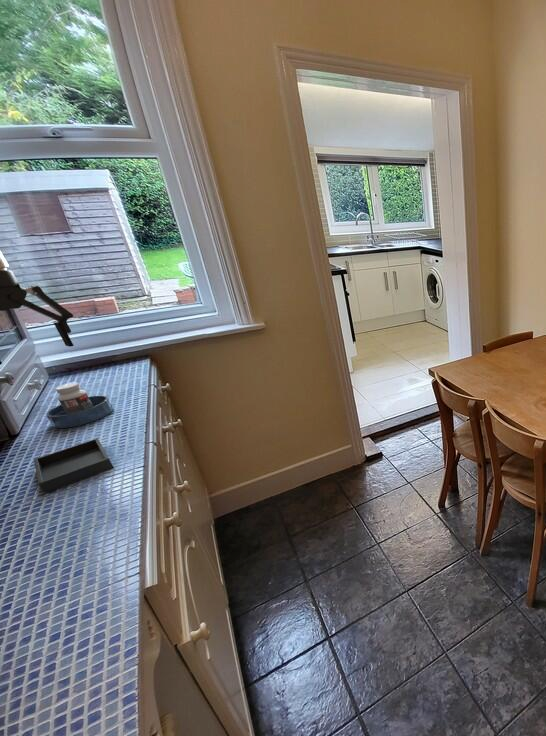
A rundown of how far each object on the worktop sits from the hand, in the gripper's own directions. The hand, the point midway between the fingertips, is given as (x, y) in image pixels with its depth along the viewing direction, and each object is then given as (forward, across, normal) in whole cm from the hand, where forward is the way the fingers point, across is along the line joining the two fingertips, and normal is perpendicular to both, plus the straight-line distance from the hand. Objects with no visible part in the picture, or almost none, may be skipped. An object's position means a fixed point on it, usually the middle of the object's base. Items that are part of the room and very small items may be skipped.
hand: (35, 354), depth 107 cm
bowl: (+21, +3, +4) cm, 22 cm away
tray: (+21, -10, -29) cm, 37 cm away
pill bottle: (+21, +3, +3) cm, 22 cm away
